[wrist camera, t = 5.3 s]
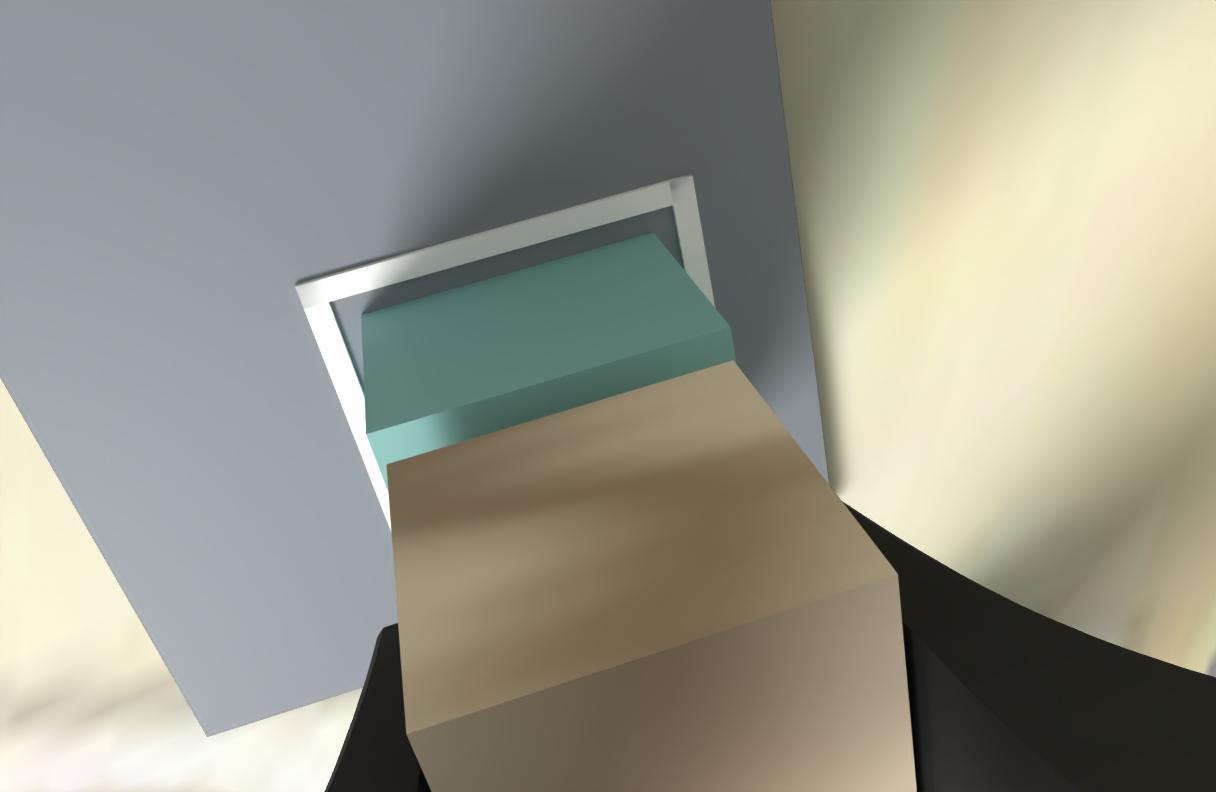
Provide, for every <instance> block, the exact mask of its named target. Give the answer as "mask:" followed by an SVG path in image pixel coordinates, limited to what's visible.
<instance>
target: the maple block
mask: <svg viewBox="0 0 1216 792" xmlns="http://www.w3.org/2000/svg"><path fill="white" fill-rule="evenodd" d="M386 467H387V480H388V494H389V507H390V521H391V534H392V547H393V561H394V574H395V588H396V601H397V614H398V628H399V641H400V655H401V668H402V681H403V695H404V708H405V722H406V734H407V737H408V739H409V741H410V743H411V746H412V748H413V750H414V753H415V755H416V757H417V759H418V762H419V764H420V766H421V769H422V771H423V773H424V775H425V778H426V780H427V782H428V785H429V787H430V789H431V791H432V792H917V787H916V776H915V764H914V753H913V741H912V730H911V718H910V707H909V696H908V684H907V673H906V661H905V650H904V638H903V627H902V616H901V604H900V593H899V581H898V574H897V572H896V571H895V570H894V568H893V567H892V566H891V564H890V563H889V562H888V561H887V559H886V558H885V557H884V555H883V554H882V553H881V551H880V550H879V549H878V548H877V546H876V545H875V544H874V542H873V541H872V540H871V538H870V537H869V536H868V535H867V533H866V532H865V531H864V529H863V528H862V527H861V525H860V524H859V523H858V522H857V520H856V519H855V518H854V516H853V515H852V514H851V513H850V511H849V510H848V509H847V507H846V506H845V505H844V503H843V502H842V501H841V500H840V498H839V497H838V496H837V494H836V493H835V492H834V490H833V489H832V488H831V487H830V485H829V484H828V483H827V481H826V480H825V479H824V477H823V476H822V475H821V474H820V472H819V471H818V470H817V468H816V467H815V466H814V464H813V463H812V462H811V461H810V459H809V458H808V457H807V455H806V454H805V453H804V451H803V450H802V449H801V448H800V446H799V445H798V444H797V442H796V441H795V440H794V438H793V437H792V436H791V435H790V433H789V432H788V431H787V429H786V428H785V427H784V425H783V424H782V423H781V422H780V420H779V419H778V418H777V416H776V415H775V414H774V412H773V411H772V410H771V409H770V407H769V406H768V405H767V403H766V402H765V401H764V399H763V398H762V397H761V396H760V394H759V393H758V392H757V390H756V389H755V388H754V387H753V385H752V384H751V383H750V381H749V380H748V379H747V377H746V376H745V375H744V374H743V372H742V371H741V370H740V368H739V367H738V366H737V364H736V363H735V362H734V361H733V360H732V361H729V362H726V363H722V364H719V365H716V366H712V367H709V368H706V369H702V370H699V371H696V372H692V373H689V374H686V375H682V376H679V377H676V378H672V379H669V380H666V381H662V382H659V383H656V384H652V385H649V386H646V387H642V388H639V389H636V390H632V391H629V392H626V393H622V394H619V395H616V396H612V397H609V398H606V399H602V400H599V401H596V402H592V403H589V404H586V405H582V406H579V407H576V408H572V409H569V410H566V411H562V412H559V413H556V414H552V415H549V416H546V417H542V418H539V419H536V420H532V421H529V422H526V423H522V424H519V425H516V426H512V427H509V428H506V429H502V430H499V431H496V432H492V433H489V434H486V435H482V436H479V437H476V438H472V439H469V440H466V441H462V442H459V443H456V444H453V445H449V446H446V447H443V448H439V449H436V450H433V451H429V452H426V453H423V454H419V455H416V456H413V457H409V458H406V459H403V460H399V461H396V462H393V463H389V464H386Z"/></svg>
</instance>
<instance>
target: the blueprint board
mask: <svg viewBox="0 0 1216 792" xmlns="http://www.w3.org/2000/svg"><path fill="white" fill-rule="evenodd" d="M732 360H733V361H734V362H735V363H736V364H737V366H738V367H739V368H740V370H741V371H742V372H743V374H744V375H745V376H746V377H747V379H748V380H749V381H750V383H751V384H752V385H753V387H754V388H755V389H756V390H757V392H758V393H759V394H760V396H761V397H762V398H763V399H764V401H765V402H766V403H767V405H768V406H769V407H770V409H771V410H772V411H773V412H774V414H775V415H776V416H777V418H778V419H779V420H780V422H781V423H782V424H783V425H784V427H785V428H786V429H787V431H788V432H789V433H790V435H791V436H792V437H793V438H794V440H795V441H796V442H797V444H798V445H799V446H800V448H801V449H802V450H803V451H804V453H805V454H806V455H807V457H808V458H809V459H810V461H811V462H812V463H813V464H814V466H815V467H816V468H817V470H818V471H819V472H820V474H821V475H822V476H823V477H824V479H825V480H826V481H827V483H828V484H829V480H828V471H827V463H826V455H825V447H824V439H823V430H822V422H821V414H820V406H819V397H818V389H817V381H816V373H815V365H814V356H813V348H812V340H811V332H810V324H809V315H808V307H807V299H806V291H805V283H804V274H803V266H802V258H801V250H800V242H799V233H798V225H797V217H796V209H795V201H794V192H793V184H792V176H791V168H790V160H789V151H788V143H787V135H786V127H785V119H784V110H783V102H782V94H781V86H780V77H779V69H778V61H777V53H776V45H775V36H774V28H773V20H772V12H771V4H770V0H0V378H1V380H2V381H3V383H4V385H5V387H6V388H7V390H8V392H9V394H10V395H11V397H12V399H13V400H14V402H15V404H16V406H17V407H18V409H19V411H20V413H21V414H22V416H23V418H24V420H25V421H26V423H27V425H28V427H29V428H30V430H31V432H32V433H33V435H34V437H35V439H36V440H37V442H38V444H39V446H40V447H41V449H42V451H43V453H44V454H45V456H46V458H47V460H48V461H49V463H50V465H51V466H52V468H53V470H54V472H55V473H56V475H57V477H58V479H59V480H60V482H61V484H62V486H63V487H64V489H65V491H66V493H67V494H68V496H69V498H70V500H71V501H72V503H73V505H74V506H75V508H76V510H77V512H78V513H79V515H80V517H81V519H82V520H83V522H84V524H85V526H86V527H87V529H88V531H89V533H90V534H91V536H92V538H93V539H94V541H95V543H96V545H97V546H98V548H99V550H100V552H101V553H102V555H103V557H104V559H105V560H106V562H107V564H108V566H109V567H110V569H111V571H112V572H113V574H114V576H115V578H116V579H117V581H118V583H119V585H120V586H121V588H122V590H123V592H124V593H125V595H126V597H127V599H128V600H129V602H130V604H131V605H132V607H133V609H134V611H135V612H136V614H137V616H138V618H139V619H140V621H141V623H142V625H143V626H144V628H145V630H146V632H147V633H148V635H149V637H150V638H151V640H152V642H153V644H154V645H155V647H156V649H157V651H158V652H159V654H160V656H161V658H162V659H163V661H164V663H165V665H166V666H167V668H168V670H169V671H170V673H171V675H172V677H173V678H174V680H175V682H176V684H177V685H178V687H179V689H180V691H181V692H182V694H183V696H184V698H185V699H186V701H187V703H188V704H189V706H190V708H191V710H192V711H193V713H194V715H195V717H196V718H197V720H198V722H199V724H200V725H201V727H202V729H203V731H204V732H205V734H206V736H207V737H209V736H212V735H215V734H218V733H221V732H225V731H228V730H231V729H234V728H237V727H240V726H243V725H247V724H250V723H253V722H256V721H259V720H262V719H265V718H269V717H272V716H275V715H278V714H281V713H284V712H287V711H290V710H294V709H297V708H300V707H303V706H306V705H309V704H312V703H316V702H319V701H322V700H325V699H328V698H331V697H334V696H338V695H341V694H344V693H347V692H350V691H353V690H356V689H360V688H363V686H364V683H365V680H366V676H367V673H368V670H369V666H370V662H371V659H372V655H373V651H374V648H375V644H376V640H377V637H378V635H379V633H380V632H381V630H382V629H383V627H386V626H390V625H393V624H396V623H398V614H397V601H396V588H395V574H394V561H393V547H392V534H391V521H390V507H389V494H388V480H387V467H386V464H389V463H393V462H396V461H399V460H403V459H406V458H409V457H413V456H416V455H419V454H423V453H426V452H429V451H433V450H436V449H439V448H443V447H446V446H449V445H453V444H456V443H459V442H462V441H466V440H469V439H472V438H476V437H479V436H482V435H486V434H489V433H492V432H496V431H499V430H502V429H506V428H509V427H512V426H516V425H519V424H522V423H526V422H529V421H532V420H536V419H539V418H542V417H546V416H549V415H552V414H556V413H559V412H562V411H566V410H569V409H572V408H576V407H579V406H582V405H586V404H589V403H592V402H596V401H599V400H602V399H606V398H609V397H612V396H616V395H619V394H622V393H626V392H629V391H632V390H636V389H639V388H642V387H646V386H649V385H652V384H656V383H659V382H662V381H666V380H669V379H672V378H676V377H679V376H682V375H686V374H689V373H692V372H696V371H699V370H702V369H706V368H709V367H712V366H716V365H719V364H722V363H726V362H729V361H732Z"/></svg>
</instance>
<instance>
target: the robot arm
mask: <svg viewBox="0 0 1216 792" xmlns="http://www.w3.org/2000/svg"><path fill="white" fill-rule="evenodd" d="M843 503H844V502H843ZM844 505H845V506H846V507H847V509H848V510H849V511H850V513H851V514H852V515H853V516H854V518H855V519H856V520H857V522H858V523H859V524H860V525H861V527H862V528H863V529H864V531H865V532H866V533H867V535H868V536H869V537H870V538H871V540H872V541H873V542H874V544H875V545H876V546H877V548H878V549H879V550H880V551H881V553H882V554H883V555H884V557H885V558H886V559H887V561H888V562H889V563H890V564H891V566H892V567H893V568H894V570H895V571H896V572H897V574H898V581H899V593H900V604H901V616H902V627H903V638H904V650H905V661H906V673H907V684H908V696H909V707H910V718H911V730H912V741H913V753H914V764H915V776H916V787H917V792H1216V678H1215V677H1213V676H1209V675H1206V674H1202V673H1199V672H1195V671H1192V670H1189V669H1185V668H1182V667H1179V666H1176V665H1173V664H1170V663H1167V662H1164V661H1161V660H1158V659H1155V658H1152V657H1149V656H1146V655H1143V654H1140V653H1137V652H1134V651H1131V650H1128V649H1125V648H1123V647H1120V646H1117V645H1114V644H1112V643H1109V642H1106V641H1104V640H1101V639H1098V638H1096V637H1093V636H1091V635H1088V634H1086V633H1084V632H1081V631H1079V630H1076V629H1074V628H1072V627H1069V626H1067V625H1064V624H1062V623H1060V622H1057V621H1055V620H1052V619H1050V618H1048V617H1045V616H1043V615H1041V614H1039V613H1036V612H1034V611H1032V610H1030V609H1028V608H1025V607H1023V606H1021V605H1019V604H1017V603H1015V602H1013V601H1011V600H1009V599H1007V598H1005V597H1003V596H1001V595H999V594H997V593H995V592H993V591H991V590H989V589H987V588H985V587H983V586H981V585H980V584H978V583H976V582H974V581H972V580H970V579H969V578H967V577H965V576H963V575H961V574H959V573H958V572H956V571H954V570H952V569H951V568H949V567H947V566H946V565H944V564H942V563H940V562H939V561H937V560H935V559H933V558H932V557H930V556H928V555H927V554H925V553H923V552H921V551H920V550H918V549H916V548H915V547H913V546H911V545H910V544H908V543H907V542H905V541H903V540H902V539H900V538H898V537H897V536H895V535H894V534H892V533H891V532H889V531H887V530H886V529H884V528H883V527H881V526H879V525H878V524H876V523H875V522H873V521H872V520H870V519H869V518H867V517H865V516H864V515H862V514H861V513H859V512H858V511H856V510H855V509H853V508H852V507H850V506H849V505H847V504H846V503H844ZM325 792H432V791H431V789H430V787H429V785H428V782H427V780H426V778H425V775H424V773H423V771H422V769H421V766H420V764H419V762H418V759H417V757H416V755H415V753H414V750H413V748H412V746H411V743H410V741H409V739H408V737H407V734H406V722H405V708H404V695H403V681H402V668H401V655H400V641H399V628H398V623H396V624H393V625H390V626H386V627H383V629H382V630H381V632H380V633H379V635H378V637H377V640H376V644H375V648H374V651H373V655H372V659H371V662H370V666H369V670H368V673H367V676H366V680H365V683H364V686H363V689H362V692H361V696H360V699H359V702H358V705H357V708H356V711H355V714H354V717H353V720H352V722H351V725H350V728H349V730H348V733H347V736H346V739H345V741H344V744H343V747H342V749H341V752H340V755H339V758H338V760H337V763H336V766H335V768H334V771H333V773H332V776H331V778H330V780H329V783H328V785H327V787H326V790H325Z"/></svg>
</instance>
